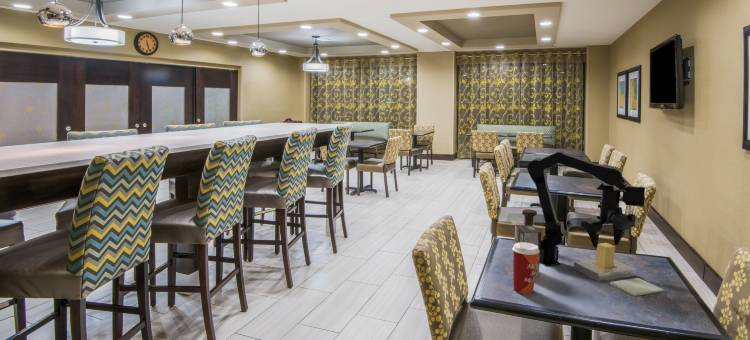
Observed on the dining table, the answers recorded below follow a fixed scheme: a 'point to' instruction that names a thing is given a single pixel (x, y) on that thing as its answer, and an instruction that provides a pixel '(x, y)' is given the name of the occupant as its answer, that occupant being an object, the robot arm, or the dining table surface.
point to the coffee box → (529, 238)
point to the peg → (605, 255)
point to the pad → (636, 286)
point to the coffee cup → (524, 266)
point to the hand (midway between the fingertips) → (605, 246)
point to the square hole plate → (604, 270)
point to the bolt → (529, 216)
